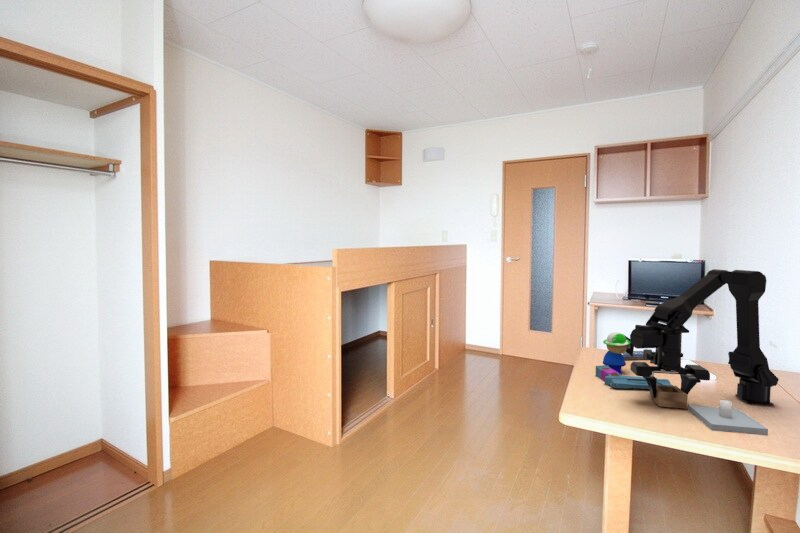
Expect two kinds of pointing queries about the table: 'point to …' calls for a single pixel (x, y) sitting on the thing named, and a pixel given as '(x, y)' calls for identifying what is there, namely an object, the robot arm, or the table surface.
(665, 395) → the collar
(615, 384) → the toy gun
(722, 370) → the table surface
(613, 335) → the toy
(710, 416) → the peg base
